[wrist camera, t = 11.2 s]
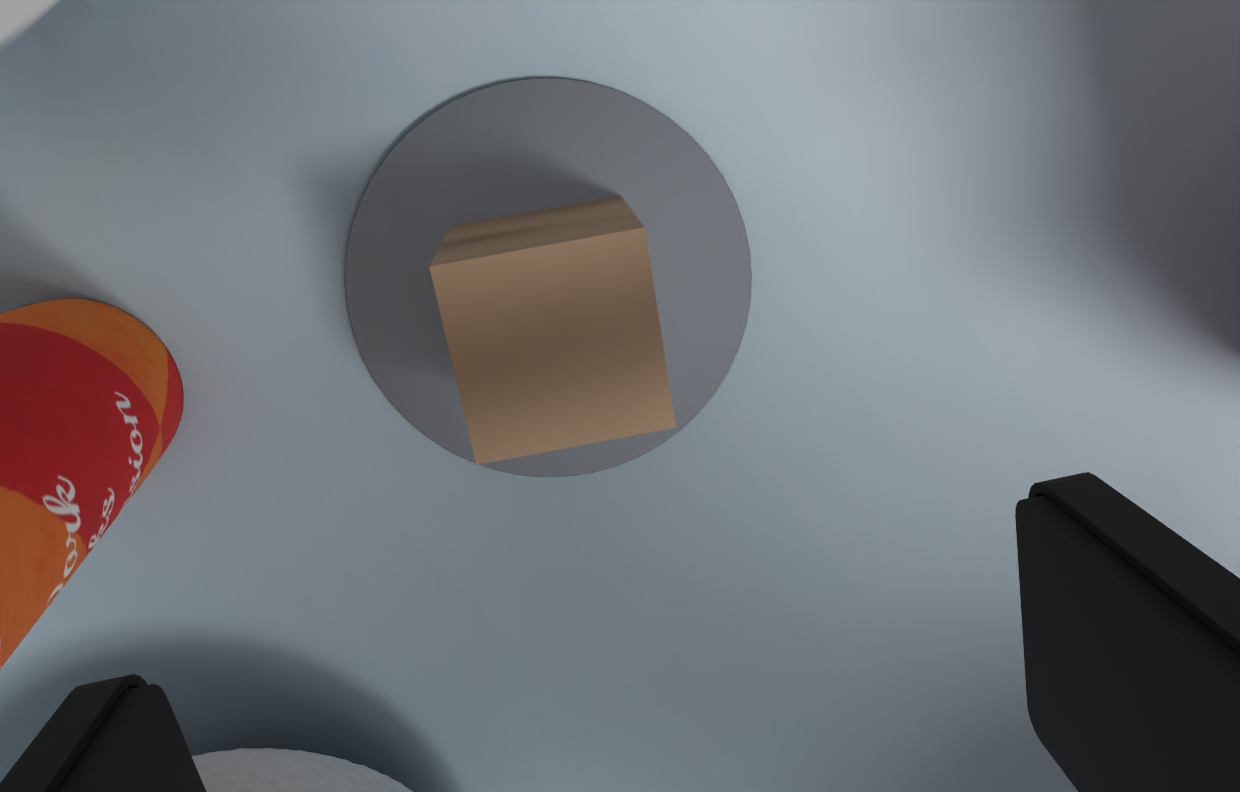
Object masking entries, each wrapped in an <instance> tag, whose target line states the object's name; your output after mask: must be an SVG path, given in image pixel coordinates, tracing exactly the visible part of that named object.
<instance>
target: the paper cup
mask: <svg viewBox="0 0 1240 792" xmlns="http://www.w3.org/2000/svg"><path fill="white" fill-rule="evenodd" d="M183 400H184V397H183V386H182V381H181V377H180V374H179V370H178V368H177V365H176V363H175V361H174V359H173V357H172V355H171V354H170V352H169V350H168V349H167V348H166V346H165V345H164V343H163V342H162V341H161V340H160V339H159V337H158V336H157V335H156V334H155V333H154V332H153V331H152V330H151V329H150V328H148V327H147V326H146V325H145V324H144V323H142V322H141V321H139V320H138V319H137V318H135V317H133V316H132V315H130V314H128V313H127V312H125V311H123V310H121V309H118V308H116V307H114V306H111V305H108V304H105V303H102V302H98V301H93V300H87V299H76V298H67V299H55V300H48V301H44V302H40V303H35V304H31V305H28V306H24V307H21V308H18V309H14V310H11V311H8V312H4V313H1V314H0V669H1V667H2V666H3V665H4V663H5V662H6V661H7V659H8V658H9V657H10V655H11V654H12V653H13V652H14V650H15V649H16V648H17V646H18V645H19V644H20V642H21V641H22V640H23V638H24V637H25V636H26V635H27V633H28V632H29V631H30V629H31V628H32V627H33V625H34V624H35V623H36V621H37V620H38V619H39V618H40V616H41V615H42V614H43V612H44V611H45V610H46V608H47V607H48V606H49V605H50V603H51V602H52V601H53V599H54V598H55V597H56V595H57V594H58V593H59V591H60V590H61V589H62V588H63V586H64V585H65V584H66V582H67V581H68V580H69V578H70V577H71V576H72V574H73V573H74V572H75V571H76V569H77V568H78V567H79V565H80V564H81V563H82V561H83V560H84V559H85V558H86V556H87V555H88V554H89V552H90V551H91V550H92V548H93V547H94V546H95V544H96V543H97V542H98V540H99V539H100V538H101V536H102V535H103V534H104V533H105V531H106V530H107V529H108V527H109V526H110V525H111V523H112V522H113V521H114V519H115V518H116V517H117V515H118V514H119V513H120V511H121V510H122V509H123V507H124V506H125V505H126V504H127V502H128V501H129V500H130V498H131V497H132V495H133V494H134V493H135V491H136V490H137V489H138V487H139V486H140V485H141V483H142V482H143V481H144V479H145V478H146V477H147V475H148V474H149V473H150V471H151V470H152V469H153V467H154V466H155V464H156V463H157V461H158V460H159V459H160V457H161V456H162V454H163V453H164V451H165V450H166V448H167V447H168V445H169V443H170V442H171V440H172V439H173V437H174V435H175V433H176V431H177V428H178V426H179V423H180V420H181V416H182V411H183Z"/></svg>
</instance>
